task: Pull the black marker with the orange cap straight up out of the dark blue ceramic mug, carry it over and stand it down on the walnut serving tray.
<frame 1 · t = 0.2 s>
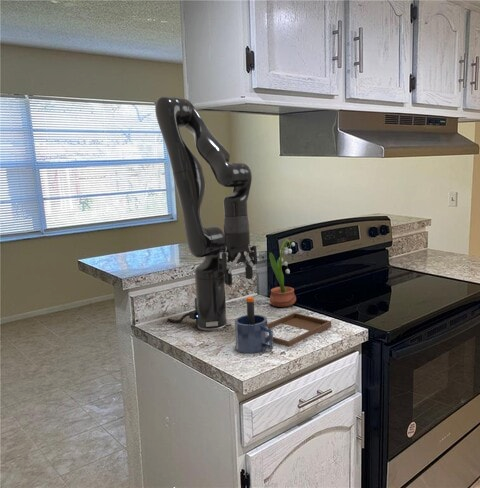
hand: (239, 281, 151), 17 cm above the counter, tool pointing down, fingers open, 8 cm apart
potted flower: (284, 304, 186), on the counter
mug: (252, 348, 144), on the counter
tray: (291, 332, 157), on the counter
marker: (252, 347, 144), point 1 cm above the counter, touching mug
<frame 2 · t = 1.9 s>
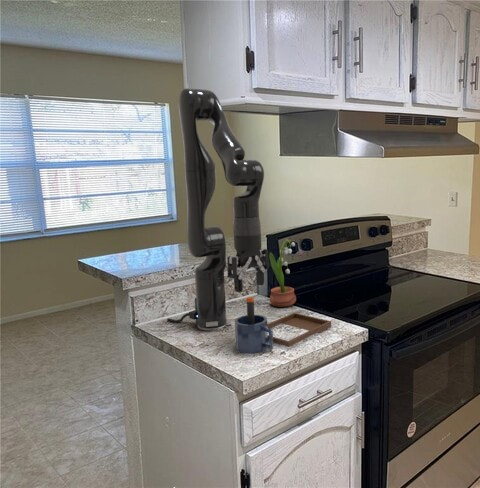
hand: (249, 288, 140), 18 cm above the counter, tool pointing down, fingers open, 8 cm apart
nothing on the counter moved.
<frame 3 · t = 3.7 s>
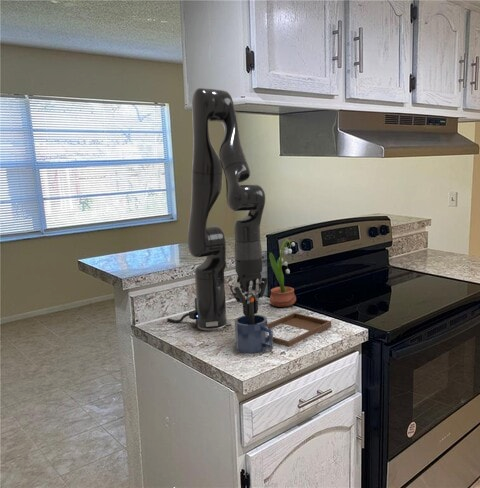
hand: (250, 314, 142), 11 cm above the counter, tool pointing down, fingers closed on marker, 2 cm apart
marker: (252, 346, 144), point 1 cm above the counter, touching gripper
everything else where it was.
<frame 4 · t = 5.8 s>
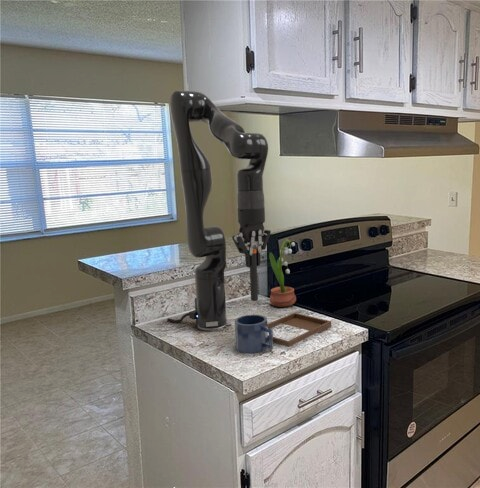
hand: (253, 266, 140), 25 cm above the counter, tool pointing down, fingers closed on marker
marker: (254, 300, 142), point 15 cm above the counter, touching gripper
everything else where it was.
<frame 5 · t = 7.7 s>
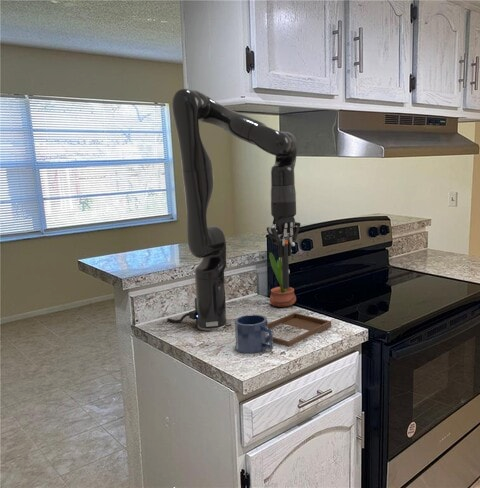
hand: (284, 256, 150), 25 cm above the counter, tool pointing down, fingers closed on marker
marker: (285, 287, 152), point 15 cm above the counter, touching gripper
everything else where it was.
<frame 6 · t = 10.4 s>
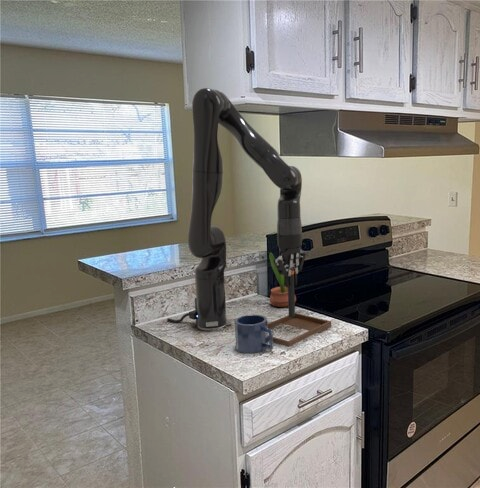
hand: (290, 286, 154), 15 cm above the counter, tool pointing down, fingers closed on marker
marker: (291, 316, 156), point 5 cm above the counter, touching gripper
everything else where it was.
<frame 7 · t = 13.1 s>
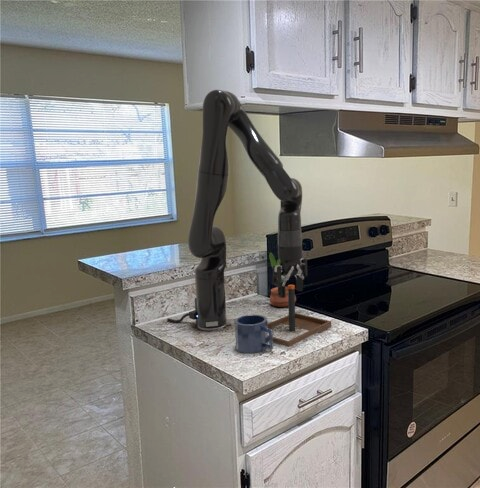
hand: (290, 294, 154), 13 cm above the counter, tool pointing down, fingers open, 8 cm apart
marker: (292, 330, 157), resting on tray
everything else where it was.
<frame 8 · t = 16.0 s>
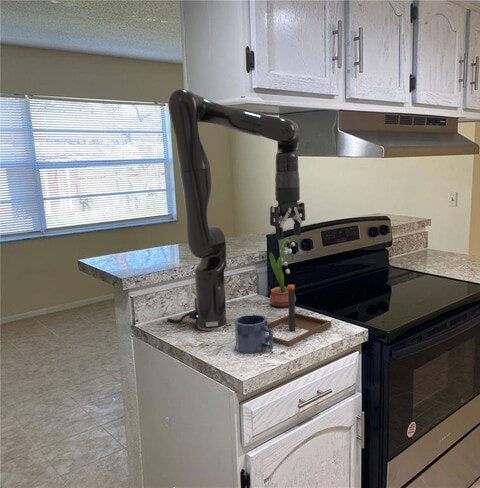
hand: (288, 237, 155), 30 cm above the counter, tool pointing down, fingers open, 8 cm apart
nothing on the counter moved.
at the end: marker inside the target area in the tray (0.1 cm from its centre), point 0.5 cm above the tray's base; the gripper is holding nothing; marker moved 17.1 cm from its start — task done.
